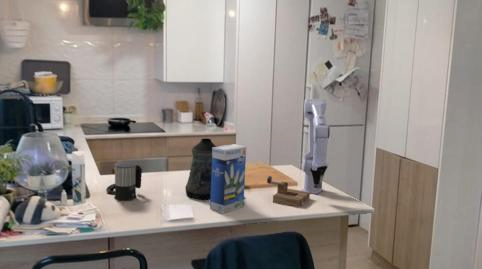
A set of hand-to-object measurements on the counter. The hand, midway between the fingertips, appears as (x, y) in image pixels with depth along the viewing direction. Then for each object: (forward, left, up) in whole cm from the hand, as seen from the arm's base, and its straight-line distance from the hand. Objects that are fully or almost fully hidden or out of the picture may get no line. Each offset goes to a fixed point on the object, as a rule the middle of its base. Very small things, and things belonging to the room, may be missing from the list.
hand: (317, 183), depth 212 cm
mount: (+5, -10, -8) cm, 14 cm away
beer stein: (+19, -47, -9) cm, 51 cm away
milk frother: (+41, -75, -9) cm, 86 cm away
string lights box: (+30, -29, -9) cm, 43 cm away
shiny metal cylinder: (0, 0, -2) cm, 2 cm away
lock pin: (+5, -18, -2) cm, 19 cm away
